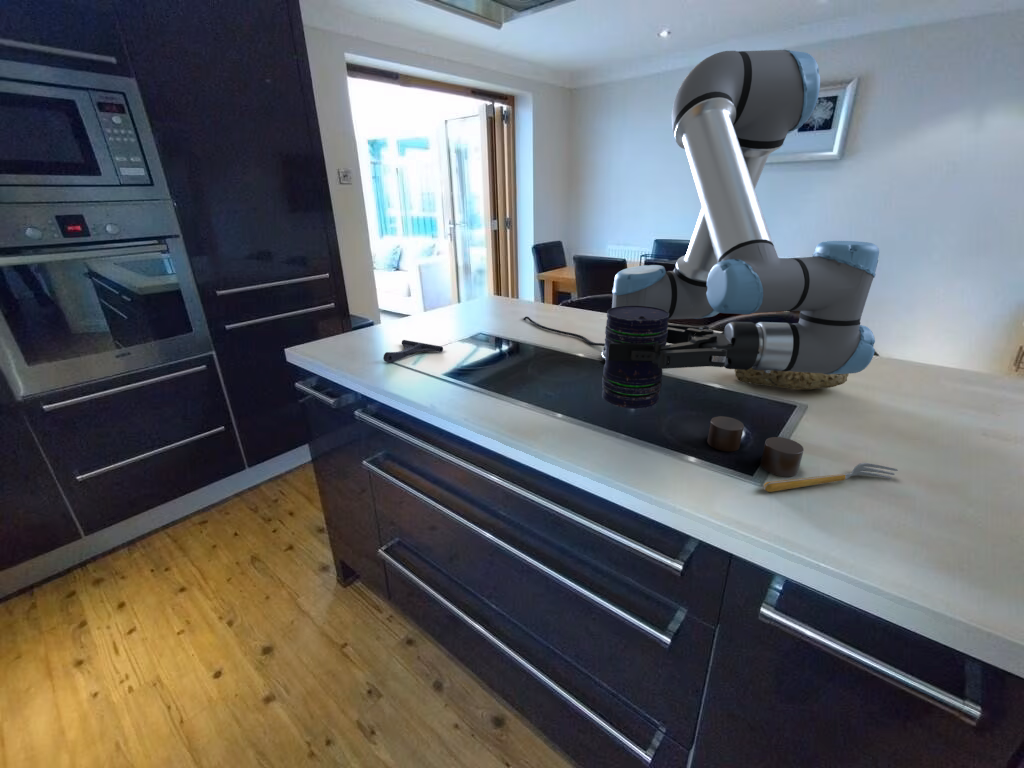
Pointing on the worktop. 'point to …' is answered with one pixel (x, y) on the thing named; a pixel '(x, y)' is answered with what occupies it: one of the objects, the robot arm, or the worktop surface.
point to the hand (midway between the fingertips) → (608, 341)
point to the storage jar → (630, 378)
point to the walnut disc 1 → (725, 433)
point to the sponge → (791, 379)
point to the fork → (827, 478)
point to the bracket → (410, 350)
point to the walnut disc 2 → (781, 456)
